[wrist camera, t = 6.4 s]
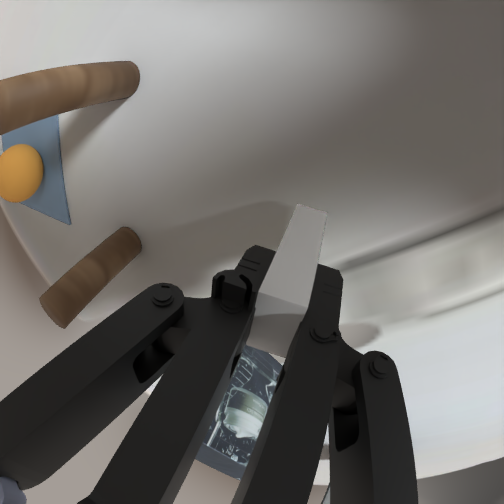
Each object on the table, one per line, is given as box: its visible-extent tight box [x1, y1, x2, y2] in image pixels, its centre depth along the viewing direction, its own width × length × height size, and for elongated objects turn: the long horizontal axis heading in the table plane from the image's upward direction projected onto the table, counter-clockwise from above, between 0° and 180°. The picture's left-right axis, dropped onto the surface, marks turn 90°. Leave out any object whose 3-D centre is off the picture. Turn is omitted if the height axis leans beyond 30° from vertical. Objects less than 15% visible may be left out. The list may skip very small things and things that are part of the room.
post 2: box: [40, 227, 141, 329], centre depth 18 cm, size 3×3×9 cm
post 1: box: [0, 61, 140, 135], centre depth 10 cm, size 3×3×9 cm
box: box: [195, 344, 283, 480], centre depth 21 cm, size 11×7×10 cm, turn 42°
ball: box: [0, 144, 43, 202], centre depth 18 cm, size 6×6×6 cm
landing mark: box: [2, 115, 71, 225], centre depth 20 cm, size 14×14×1 cm
